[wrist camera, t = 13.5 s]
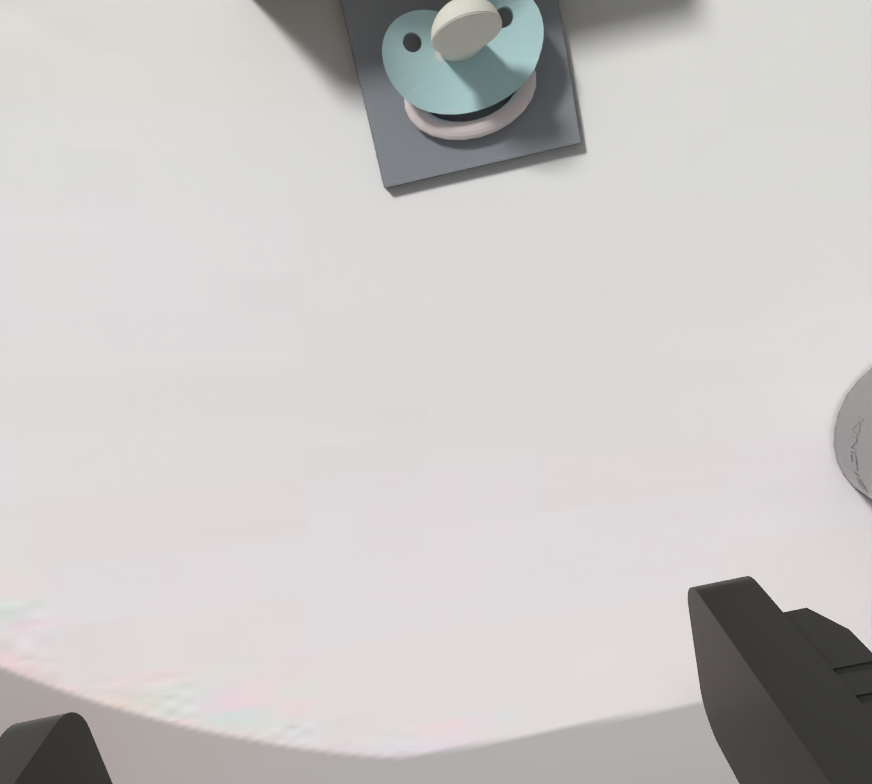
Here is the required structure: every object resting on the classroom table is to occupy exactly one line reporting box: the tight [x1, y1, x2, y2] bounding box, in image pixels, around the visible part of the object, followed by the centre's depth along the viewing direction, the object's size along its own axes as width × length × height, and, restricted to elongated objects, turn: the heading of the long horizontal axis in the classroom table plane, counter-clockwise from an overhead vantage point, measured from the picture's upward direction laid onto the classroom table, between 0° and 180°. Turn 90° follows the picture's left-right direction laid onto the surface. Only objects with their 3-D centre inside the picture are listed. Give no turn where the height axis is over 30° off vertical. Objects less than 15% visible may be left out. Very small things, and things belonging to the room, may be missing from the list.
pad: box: [341, 0, 581, 188], centre depth 35 cm, size 10×10×1 cm
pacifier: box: [382, 0, 544, 140], centre depth 32 cm, size 7×6×6 cm
